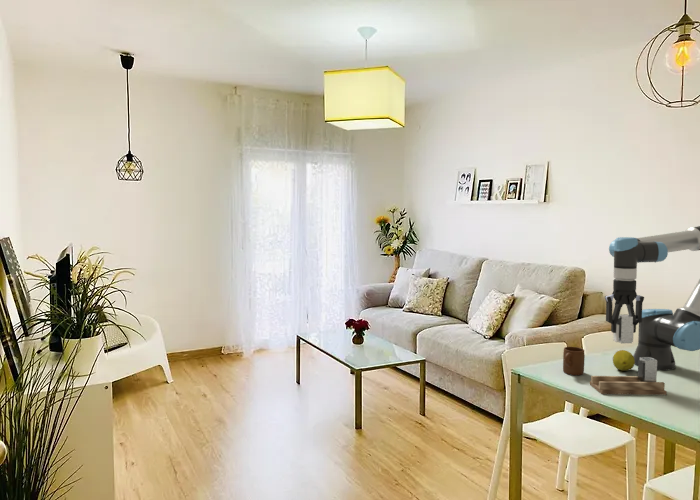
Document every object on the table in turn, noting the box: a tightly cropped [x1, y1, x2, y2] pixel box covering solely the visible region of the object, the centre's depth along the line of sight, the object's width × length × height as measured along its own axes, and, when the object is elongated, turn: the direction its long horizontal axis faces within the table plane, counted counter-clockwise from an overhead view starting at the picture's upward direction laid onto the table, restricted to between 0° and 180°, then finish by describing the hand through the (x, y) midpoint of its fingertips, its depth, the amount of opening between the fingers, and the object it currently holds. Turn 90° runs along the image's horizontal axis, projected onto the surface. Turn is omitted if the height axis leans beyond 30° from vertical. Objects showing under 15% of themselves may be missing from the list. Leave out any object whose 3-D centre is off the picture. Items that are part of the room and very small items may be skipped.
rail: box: [589, 375, 668, 396], centre depth 186 cm, size 22×10×4 cm, turn 88°
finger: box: [637, 357, 658, 382], centre depth 186 cm, size 5×4×10 cm
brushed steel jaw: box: [617, 313, 633, 344], centre depth 196 cm, size 5×4×10 cm
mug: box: [562, 346, 586, 376], centre depth 203 cm, size 12×8×9 cm, turn 138°
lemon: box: [612, 349, 635, 372], centre depth 208 cm, size 11×8×8 cm
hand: (623, 341), depth 196 cm, fingers closed on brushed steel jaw, 5 cm apart
